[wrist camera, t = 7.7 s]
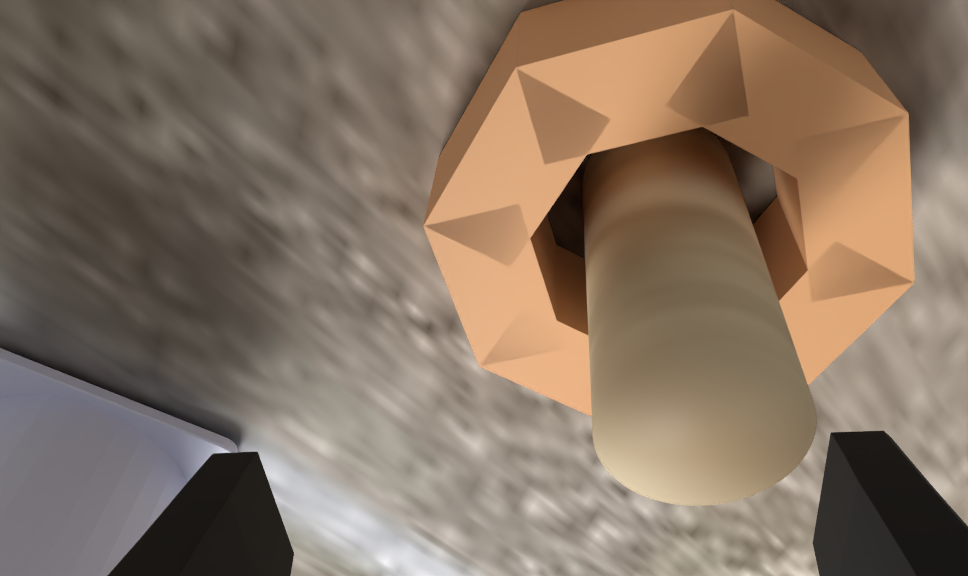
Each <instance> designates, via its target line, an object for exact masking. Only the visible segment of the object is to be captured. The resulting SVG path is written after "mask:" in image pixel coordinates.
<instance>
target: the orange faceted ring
mask: <svg viewBox="0 0 968 576" xmlns="http://www.w3.org/2000/svg"><path fill="white" fill-rule="evenodd" d="M699 127H704V128H706V129H708V130H710V131H711V132H713V133H715V134H717V135H719V136H721V137H722V138H724V139H726V140H728V141H730V142H731V143H733V144H735V145H737V146H739V147H740V148H742V149H744V150H746V151H748V152H750V153H751V154H753V155H755V156H757V157H759V158H760V159H762V160H764V161H766V162H768V163H769V164H771V165H773V169H774V176H775V184H776V191H777V197H776V198H775V199H774V201H773V202H772V203H771V204H770V205H769V206H768V208H767V209H766V210H765V211H764V212H763V214H762V215H761V216H760V217H759V218H758V219H757V221H756V222H755V223H754V224H753V227H754V230H755V233H756V236H757V239H758V242H759V245H760V248H761V250H762V253H763V256H764V259H765V262H766V265H767V268H768V271H769V274H770V277H771V279H772V282H773V285H774V288H775V291H776V294H777V297H778V300H779V303H780V306H781V308H782V311H783V314H784V317H785V320H786V323H787V326H788V329H789V332H790V335H791V337H792V340H793V343H794V346H795V349H796V352H797V355H798V358H799V361H800V364H801V366H802V369H803V372H804V375H805V378H806V381H807V384H808V385H809V384H810V383H811V382H812V381H813V380H814V379H815V378H816V377H817V376H818V375H819V374H820V373H821V372H822V371H823V370H824V369H825V368H826V367H827V366H829V365H830V364H831V363H832V362H833V361H834V360H835V359H836V358H837V357H838V356H839V355H840V354H841V353H842V352H843V351H844V350H845V349H846V348H847V347H848V346H849V345H850V344H851V343H852V342H853V341H854V340H855V339H857V338H858V337H859V336H860V335H861V334H862V333H863V332H864V331H865V330H866V329H867V328H868V327H869V326H870V325H871V324H872V323H873V322H874V321H875V320H876V319H877V318H878V317H879V316H880V315H881V314H882V313H884V312H885V311H886V310H887V309H888V308H889V307H890V306H891V305H892V304H893V303H894V302H895V301H896V300H897V299H898V298H899V297H900V296H901V295H902V294H903V293H904V292H905V291H906V290H907V289H908V288H909V287H911V286H912V285H913V284H914V282H915V281H914V253H913V225H912V196H911V168H910V140H909V113H908V112H907V111H906V109H905V108H904V107H903V106H902V104H901V103H900V102H899V100H898V99H897V98H896V97H895V95H894V94H893V93H892V91H891V90H890V89H889V88H888V86H887V85H886V84H885V82H884V81H883V80H882V79H881V77H880V76H879V75H878V73H877V72H876V71H875V70H874V68H873V67H872V66H871V64H870V63H869V62H868V61H867V59H866V58H865V57H864V56H863V54H862V53H861V52H860V51H858V50H857V49H855V48H854V47H852V46H850V45H849V44H847V43H845V42H844V41H842V40H840V39H839V38H837V37H835V36H834V35H832V34H830V33H829V32H827V31H825V30H824V29H822V28H821V27H819V26H817V25H816V24H814V23H812V22H811V21H809V20H807V19H806V18H804V17H802V16H801V15H799V14H797V13H796V12H794V11H792V10H791V9H789V8H787V7H786V6H784V5H783V4H781V3H779V2H778V1H776V0H563V1H559V2H555V3H552V4H548V5H545V6H541V7H538V8H534V9H531V10H527V11H524V12H521V13H520V14H519V16H518V18H517V20H516V21H515V23H514V25H513V27H512V29H511V30H510V32H509V34H508V36H507V37H506V39H505V41H504V43H503V45H502V46H501V48H500V50H499V52H498V53H497V55H496V57H495V59H494V60H493V62H492V64H491V66H490V68H489V69H488V71H487V73H486V75H485V76H484V78H483V80H482V82H481V84H480V85H479V87H478V89H477V91H476V92H475V94H474V96H473V98H472V99H471V101H470V103H469V105H468V107H467V108H466V110H465V112H464V114H463V115H462V117H461V119H460V121H459V123H458V124H457V126H456V128H455V130H454V131H453V133H452V135H451V137H450V138H449V140H448V142H447V144H446V146H445V147H444V149H443V151H442V153H441V154H440V156H439V159H438V164H437V168H436V172H435V177H434V181H433V186H432V190H431V194H430V199H429V203H428V208H427V212H426V216H425V221H424V225H423V227H424V229H425V232H426V234H427V237H428V239H429V242H430V244H431V247H432V249H433V252H434V254H435V257H436V259H437V262H438V264H439V267H440V269H441V272H442V274H443V277H444V279H445V282H446V284H447V287H448V289H449V292H450V294H451V297H452V299H453V302H454V304H455V307H456V309H457V312H458V314H459V317H460V319H461V322H462V325H463V327H464V330H465V332H466V335H467V337H468V340H469V342H470V345H471V347H472V350H473V352H474V355H475V357H476V360H477V362H478V365H479V366H480V367H482V368H484V369H486V370H489V371H491V372H493V373H495V374H497V375H500V376H502V377H504V378H506V379H509V380H511V381H513V382H515V383H518V384H520V385H522V386H524V387H527V388H529V389H531V390H533V391H536V392H538V393H540V394H542V395H545V396H547V397H549V398H551V399H554V400H556V401H558V402H560V403H563V404H565V405H567V406H569V407H571V408H574V409H576V410H578V411H580V412H583V413H585V414H587V415H589V416H592V408H591V385H590V361H589V337H588V313H587V289H586V265H585V259H584V258H582V257H580V256H578V255H576V254H574V253H572V252H570V251H568V250H566V249H564V248H562V247H560V246H558V245H556V242H555V239H554V236H553V232H552V229H551V226H550V222H549V219H548V216H547V213H548V211H549V210H550V208H551V207H552V205H553V204H554V203H555V201H556V200H557V198H558V197H559V195H560V194H561V192H562V191H563V189H564V188H565V186H566V185H567V183H568V182H569V180H570V179H571V177H572V176H573V175H574V173H575V172H576V170H577V169H578V167H579V166H580V164H581V163H582V161H583V160H584V158H585V157H586V155H587V154H591V153H595V152H600V151H604V150H608V149H612V148H616V147H620V146H624V145H629V144H633V143H637V142H641V141H645V140H649V139H653V138H658V137H662V136H666V135H670V134H674V133H678V132H683V131H687V130H691V129H695V128H699Z"/></svg>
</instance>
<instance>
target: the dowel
mask: <svg viewBox="0 0 968 576" xmlns="http://www.w3.org/2000/svg"><path fill="white" fill-rule="evenodd" d="M582 194H583V218H584V241H585V265H586V289H587V313H588V337H589V361H590V385H591V408H592V432H593V442H594V446H595V450H596V452H597V455H598V457H599V459H600V461H601V462H602V464H603V465H604V467H605V468H606V469H607V471H608V472H609V473H610V474H611V475H612V476H613V477H614V478H615V479H616V480H618V481H619V482H620V483H621V484H623V485H624V486H626V487H627V488H629V489H630V490H632V491H634V492H636V493H638V494H640V495H643V496H645V497H648V498H651V499H654V500H658V501H661V502H665V503H671V504H677V505H689V506H704V505H715V504H723V503H728V502H733V501H737V500H740V499H743V498H747V497H749V496H752V495H755V494H757V493H760V492H761V491H763V490H765V489H767V488H769V487H771V486H773V485H774V484H776V483H777V482H779V481H781V480H782V479H783V478H784V477H786V476H787V475H788V474H789V473H791V472H792V471H793V470H794V469H795V468H796V467H797V466H798V464H799V463H800V462H801V461H802V459H803V458H804V457H805V455H806V454H807V452H808V450H809V448H810V446H811V444H812V442H813V439H814V436H815V431H816V424H817V419H816V409H815V405H814V401H813V398H812V395H811V393H810V390H809V387H808V384H807V381H806V378H805V375H804V372H803V369H802V366H801V364H800V361H799V358H798V355H797V352H796V349H795V346H794V343H793V340H792V337H791V335H790V332H789V329H788V326H787V323H786V320H785V317H784V314H783V311H782V308H781V306H780V303H779V300H778V297H777V294H776V291H775V288H774V285H773V282H772V279H771V277H770V274H769V271H768V268H767V265H766V262H765V259H764V256H763V253H762V250H761V248H760V245H759V242H758V239H757V236H756V233H755V230H754V227H753V224H752V221H751V219H750V216H749V213H748V210H747V207H746V204H745V201H744V198H743V195H742V192H741V190H740V187H739V184H738V181H737V178H736V175H735V172H734V169H733V166H732V163H731V161H730V158H729V156H728V153H727V151H726V149H725V148H724V146H723V144H722V143H721V142H720V141H719V140H718V138H717V137H716V136H715V135H714V134H712V133H711V132H710V131H709V130H708V129H706V128H704V127H699V128H695V129H691V130H687V131H683V132H678V133H674V134H670V135H666V136H662V137H658V138H653V139H649V140H645V141H641V142H637V143H633V144H629V145H624V146H620V147H616V148H612V149H608V150H604V151H600V152H595V153H592V154H591V156H590V158H589V160H588V162H587V165H586V167H585V170H584V175H583V182H582Z"/></svg>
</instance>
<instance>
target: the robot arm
mask: <svg viewBox="0 0 968 576" xmlns="http://www.w3.org/2000/svg"><path fill="white" fill-rule="evenodd" d="M813 546H814V551H815V556H816V560H817V565H818V570H819V575H820V576H968V526H967V525H966V524H965V523H964V522H963V520H962V519H961V518H960V517H959V516H958V515H957V514H956V513H955V511H954V510H953V509H952V508H951V507H950V506H949V505H948V504H947V502H946V501H945V500H944V499H943V498H942V497H941V496H940V494H939V493H938V492H937V491H936V490H935V489H934V488H933V486H932V485H931V484H930V483H929V482H928V481H927V479H926V478H925V477H924V476H923V475H922V474H921V472H920V471H919V470H918V469H917V468H916V467H915V465H914V464H913V463H912V462H911V461H910V459H909V458H908V457H907V456H906V455H905V453H904V452H903V451H902V450H901V449H900V448H899V446H898V445H897V444H896V443H895V442H894V440H893V439H892V438H891V437H890V436H889V435H888V434H886V433H885V432H884V431H864V432H834V433H831V435H830V441H829V447H828V453H827V459H826V465H825V471H824V478H823V484H822V490H821V496H820V502H819V508H818V514H817V521H816V527H815V533H814V539H813ZM293 556H294V552H293V549H292V547H291V544H290V541H289V538H288V535H287V533H286V530H285V527H284V524H283V521H282V519H281V516H280V513H279V510H278V508H277V505H276V502H275V499H274V496H273V494H272V491H271V488H270V485H269V482H268V480H267V477H266V474H265V471H264V469H263V466H262V463H261V460H260V457H259V455H258V452H238V448H237V445H236V444H235V443H234V442H233V441H232V440H230V439H228V438H226V437H224V436H221V435H219V434H216V433H213V432H211V431H208V430H206V429H203V428H201V427H198V426H196V425H193V424H191V423H188V422H186V421H183V420H181V419H178V418H176V417H173V416H171V415H168V414H166V413H163V412H160V411H158V410H155V409H153V408H150V407H148V406H145V405H143V404H140V403H138V402H135V401H133V400H130V399H128V398H125V397H123V396H120V395H118V394H115V393H112V392H110V391H107V390H105V389H102V388H100V387H97V386H95V385H92V384H90V383H87V382H85V381H82V380H80V379H77V378H75V377H72V376H70V375H67V374H65V373H62V372H59V371H57V370H54V369H52V368H49V367H47V366H44V365H42V364H39V363H37V362H34V361H32V360H29V359H27V358H24V357H22V356H19V355H17V354H14V353H12V352H9V351H6V350H4V349H1V348H0V576H290V575H291V568H292V562H293Z"/></svg>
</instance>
